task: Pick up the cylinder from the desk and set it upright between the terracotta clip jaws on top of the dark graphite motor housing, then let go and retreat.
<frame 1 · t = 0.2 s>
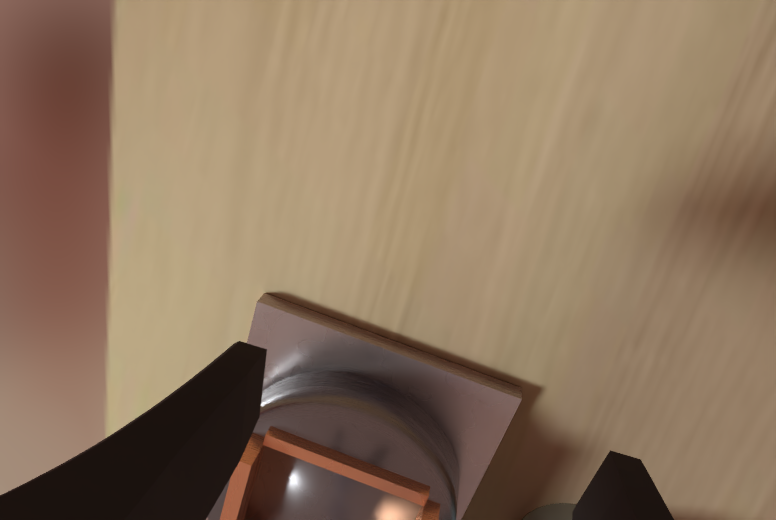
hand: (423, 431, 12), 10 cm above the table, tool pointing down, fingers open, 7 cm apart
motor: (348, 457, 26), on the table
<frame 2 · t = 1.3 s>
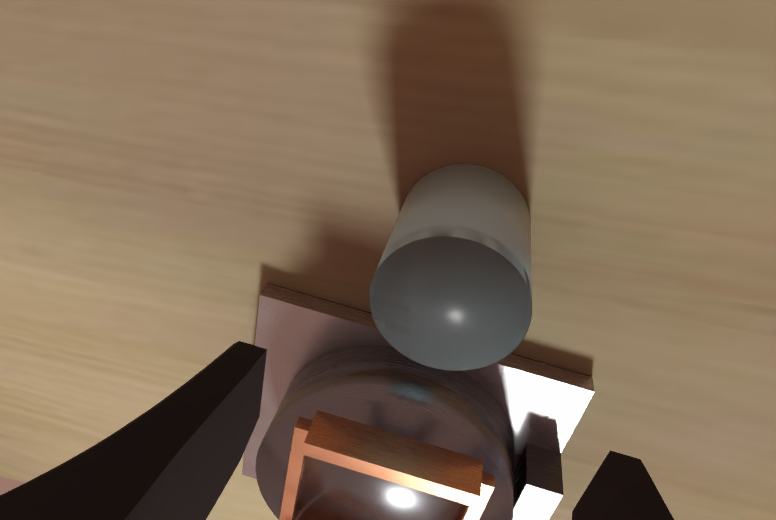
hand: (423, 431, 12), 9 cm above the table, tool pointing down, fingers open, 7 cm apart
motor: (397, 424, 25), on the table
cylinder: (464, 224, 20), on the table
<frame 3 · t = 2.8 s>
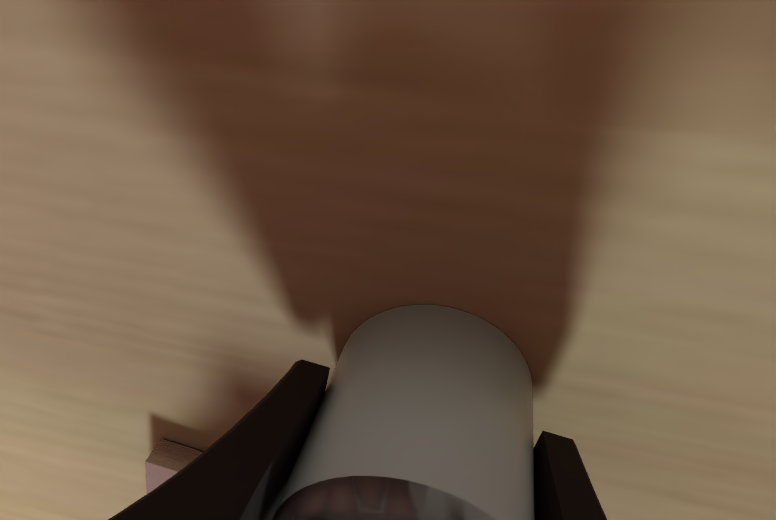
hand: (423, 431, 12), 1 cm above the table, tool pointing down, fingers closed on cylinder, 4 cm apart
cylinder: (433, 384, 13), on the table, touching gripper
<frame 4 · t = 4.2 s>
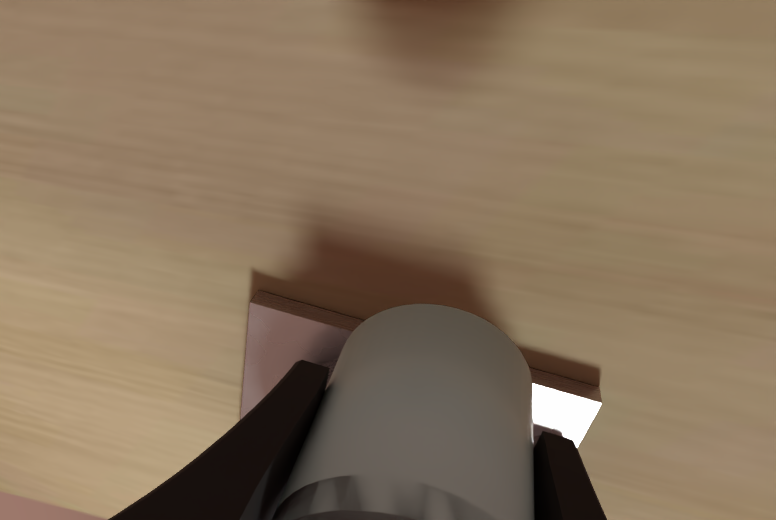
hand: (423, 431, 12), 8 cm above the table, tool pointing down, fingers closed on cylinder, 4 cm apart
motor: (395, 436, 24), on the table
cylinder: (432, 383, 13), point 7 cm above the table, touching gripper
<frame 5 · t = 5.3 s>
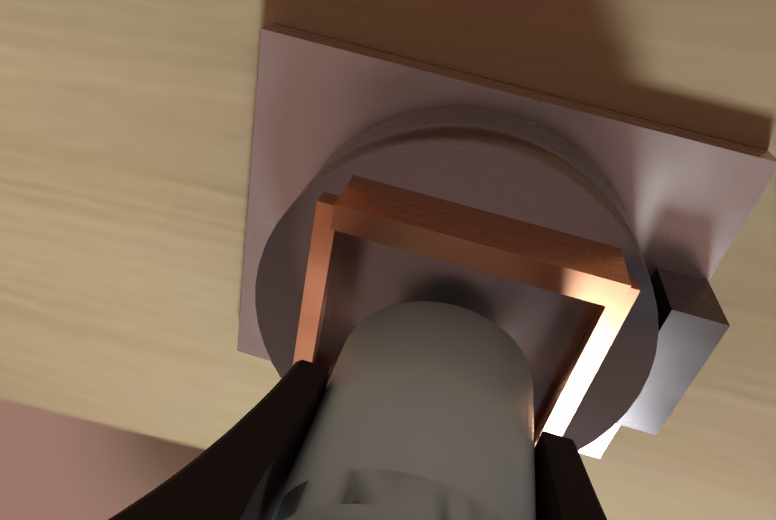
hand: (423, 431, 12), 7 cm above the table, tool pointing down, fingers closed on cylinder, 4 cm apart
motor: (458, 261, 18), on the table
cylinder: (433, 382, 13), point 5 cm above the table, touching gripper
when the fingers open (6 cm above the table, at t = 5.9 s): cylinder stays where it is, resting on motor.
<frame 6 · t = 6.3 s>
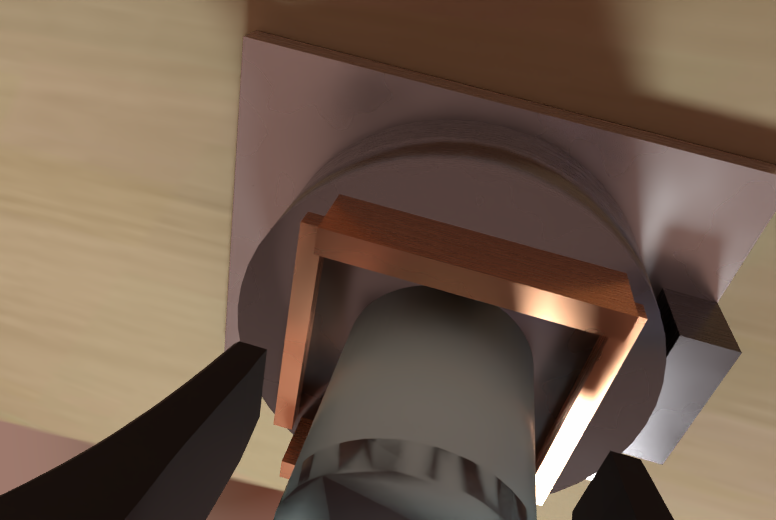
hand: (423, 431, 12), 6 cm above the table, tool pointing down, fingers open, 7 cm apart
motor: (453, 279, 17), on the table
cylinder: (437, 363, 14), point 4 cm above the table, touching motor
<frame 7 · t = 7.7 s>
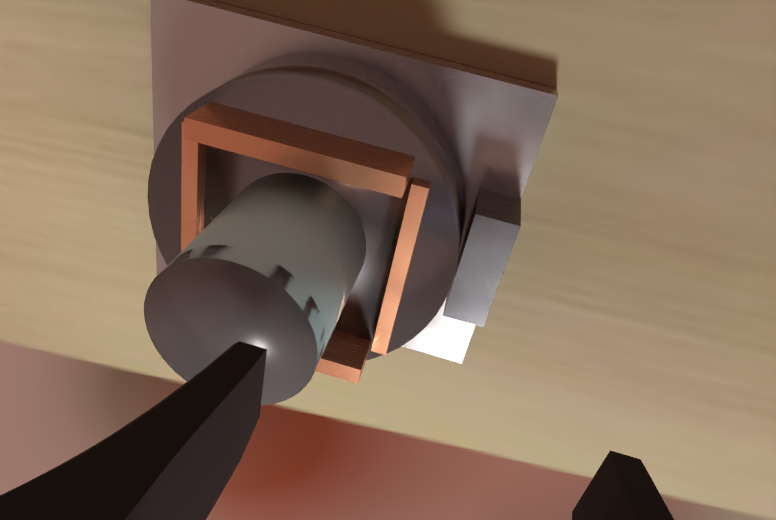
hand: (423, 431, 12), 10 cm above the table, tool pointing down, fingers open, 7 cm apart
motor: (331, 190, 21), on the table
cylinder: (297, 238, 18), point 4 cm above the table, touching motor
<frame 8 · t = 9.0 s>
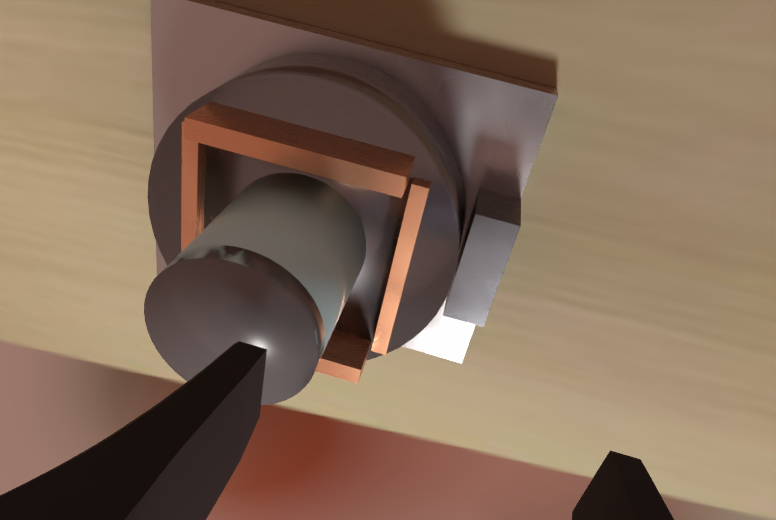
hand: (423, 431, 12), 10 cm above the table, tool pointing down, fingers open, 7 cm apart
motor: (331, 190, 21), on the table
cylinder: (297, 238, 18), point 4 cm above the table, touching motor
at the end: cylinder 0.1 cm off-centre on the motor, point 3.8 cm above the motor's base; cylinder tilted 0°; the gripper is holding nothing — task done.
